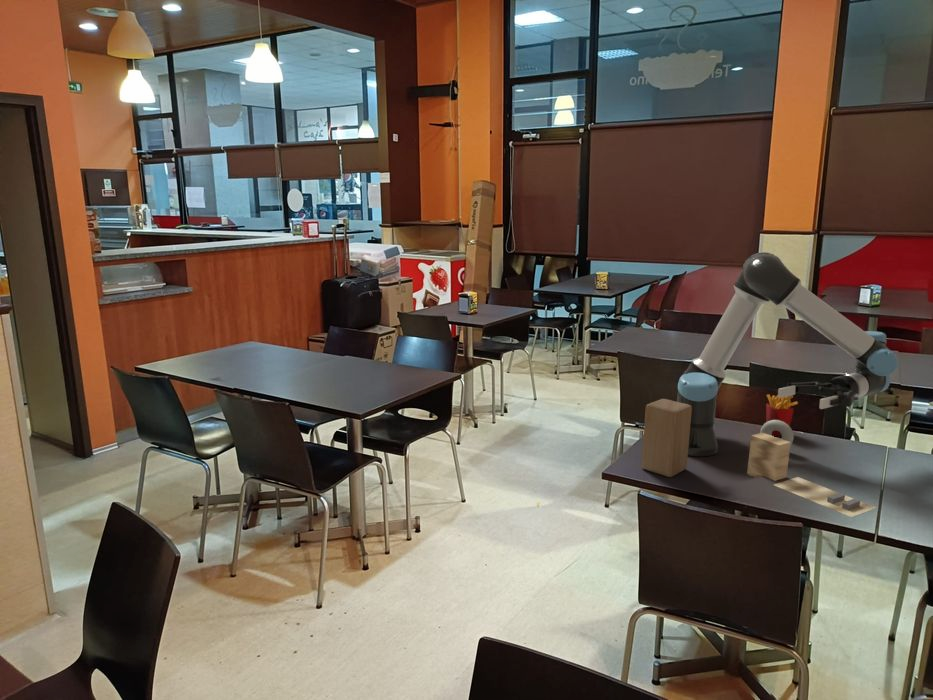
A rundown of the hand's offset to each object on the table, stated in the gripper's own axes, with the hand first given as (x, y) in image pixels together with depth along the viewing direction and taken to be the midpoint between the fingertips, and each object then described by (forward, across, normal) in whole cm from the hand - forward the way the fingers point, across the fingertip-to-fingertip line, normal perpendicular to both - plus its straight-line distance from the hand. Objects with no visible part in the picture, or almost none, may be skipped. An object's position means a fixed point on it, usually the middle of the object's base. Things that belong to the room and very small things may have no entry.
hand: (799, 398), depth 195 cm
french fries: (-23, +24, -22) cm, 40 cm away
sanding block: (+12, 0, -22) cm, 25 cm away
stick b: (+10, -24, -21) cm, 34 cm away
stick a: (+10, -20, -21) cm, 31 cm away
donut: (-10, +15, -22) cm, 28 cm away
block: (+34, +18, -20) cm, 43 cm away
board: (+10, -17, -22) cm, 30 cm away
